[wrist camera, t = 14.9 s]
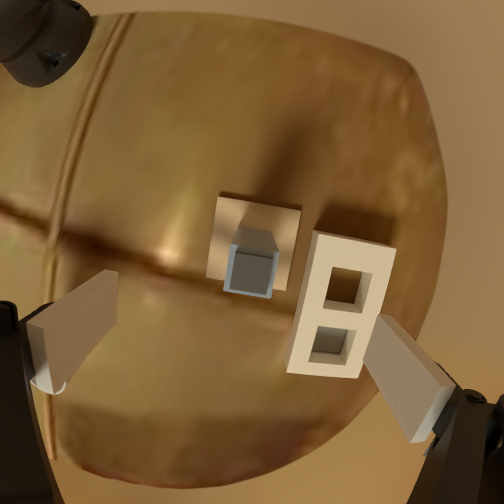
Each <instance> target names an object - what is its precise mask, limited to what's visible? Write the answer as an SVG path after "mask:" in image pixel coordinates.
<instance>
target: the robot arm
mask: <svg viewBox="0 0 504 504" xmlns="http://www.w3.org/2000/svg"><path fill="white" fill-rule="evenodd" d="M91 27H92V22H91V17H90V14H89V13H88V11H87V10H86V9H85V8H84V7H83V6H82V5H80V4H79V3H77V2H76V1H72V0H0V63H2V64H3V65H4V67H5V68H6V69H7V70H8V72H9V73H10V74H11V75H12V76H13V78H14V79H15V80H16V81H18V82H19V83H21V84H23V85H26V86H29V87H42V86H45V85H48V84H50V83H52V82H54V81H55V80H57V79H58V78H60V77H61V76H62V75H63V74H65V73H66V72H67V71H68V70H69V69H70V68H71V67H72V66H73V64H74V63H75V62H76V61H77V59H78V58H79V57H80V55H81V54H82V52H83V50H84V48H85V46H86V44H87V42H88V40H89V37H90V33H91ZM117 292H118V272H115V271H110V270H103V271H102V272H100V273H98V274H97V275H95V276H94V277H92V278H91V279H89V280H88V281H86V282H85V283H83V284H82V285H80V286H78V287H77V288H75V289H74V290H72V291H71V292H69V293H68V294H66V295H65V296H63V297H62V298H61V299H59V300H58V301H56V302H51V303H47V304H44V305H42V306H41V307H39V308H38V309H36V311H33V312H32V313H31V314H29V315H27V316H26V317H24V318H23V319H21V320H20V321H18V313H17V307H16V305H15V304H14V303H12V302H9V301H0V504H65V503H64V501H63V498H62V496H61V493H60V491H59V488H58V486H57V483H56V480H55V477H54V474H53V471H52V468H51V465H50V462H49V459H48V456H47V452H46V449H45V446H44V442H43V438H42V435H41V431H40V427H39V423H38V419H37V414H36V410H35V405H34V401H33V396H32V390H31V386H30V380H31V379H32V378H33V377H34V376H35V378H36V383H37V387H38V389H41V390H43V391H45V392H48V393H50V394H53V395H55V393H56V392H57V391H58V390H59V389H60V387H61V386H62V385H63V384H64V383H65V381H66V380H67V379H68V378H69V377H70V375H71V374H72V373H73V372H74V371H75V370H76V368H77V367H78V366H79V365H80V364H81V363H82V361H83V360H84V359H85V358H86V357H87V356H88V354H89V353H90V352H91V351H92V350H93V349H94V348H95V346H96V345H97V344H98V343H99V342H100V341H101V340H102V338H103V337H104V336H105V335H106V334H107V333H108V332H109V331H110V329H111V328H112V327H113V326H114V325H115V324H116V323H117ZM363 362H364V364H365V365H366V367H367V369H368V371H369V372H370V374H371V376H372V377H373V379H374V381H375V383H376V384H377V386H378V388H379V390H380V391H381V393H382V395H383V396H384V398H385V400H386V402H387V403H388V405H389V407H390V409H391V410H392V412H393V414H394V416H395V417H396V419H397V421H398V423H399V425H400V427H401V428H402V430H403V432H404V434H405V435H406V437H407V439H408V441H409V443H415V442H423V441H425V440H426V439H427V437H428V435H429V434H430V432H431V431H432V430H433V432H434V433H435V435H436V436H435V438H434V439H433V441H432V443H431V444H430V446H429V447H428V449H427V450H426V452H425V453H424V455H423V456H426V455H427V456H426V459H425V462H424V464H423V467H422V469H421V472H420V474H419V477H418V479H417V482H416V484H415V486H414V488H413V491H412V493H411V495H410V497H409V499H408V501H407V503H406V504H504V394H503V395H501V396H500V398H499V400H498V402H497V403H496V404H491V403H487V400H486V398H485V397H484V396H483V395H482V394H481V393H479V392H477V391H475V390H471V389H464V390H462V388H461V387H460V386H459V385H458V384H457V383H456V382H455V381H454V380H453V378H452V377H450V376H449V374H448V373H447V372H445V370H444V369H443V368H442V367H441V366H440V365H439V364H438V363H436V362H435V361H433V359H432V358H431V357H430V356H429V355H428V354H427V353H426V352H425V351H424V350H423V349H422V348H421V347H420V346H419V345H418V344H417V343H416V341H415V340H414V339H413V338H412V337H411V336H410V335H409V334H408V333H407V332H406V331H405V330H404V329H403V328H402V327H401V326H400V325H399V324H398V323H397V322H396V321H395V320H394V319H393V318H392V317H391V316H390V315H382V314H378V315H377V318H376V321H375V324H374V327H373V331H372V334H371V337H370V340H369V343H368V345H367V348H366V351H365V354H364V357H363ZM501 443H502V444H501ZM500 444H501V446H500ZM499 446H500V448H499Z"/></svg>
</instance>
